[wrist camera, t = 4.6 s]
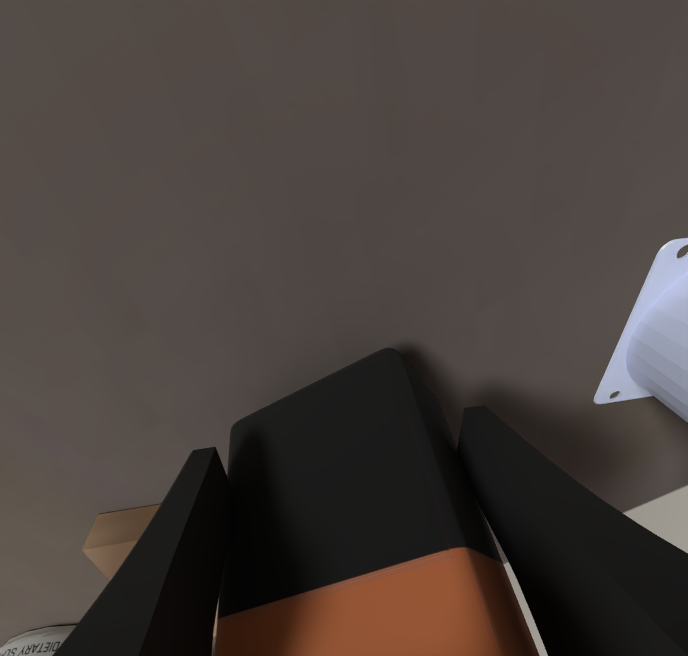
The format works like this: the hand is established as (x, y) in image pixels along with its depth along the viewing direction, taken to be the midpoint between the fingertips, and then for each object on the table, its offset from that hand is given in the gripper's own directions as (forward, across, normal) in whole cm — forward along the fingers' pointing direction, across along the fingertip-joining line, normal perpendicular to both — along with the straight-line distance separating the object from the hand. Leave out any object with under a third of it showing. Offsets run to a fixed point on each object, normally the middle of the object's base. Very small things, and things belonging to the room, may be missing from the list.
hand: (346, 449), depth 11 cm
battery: (+3, 0, +1) cm, 3 cm away
